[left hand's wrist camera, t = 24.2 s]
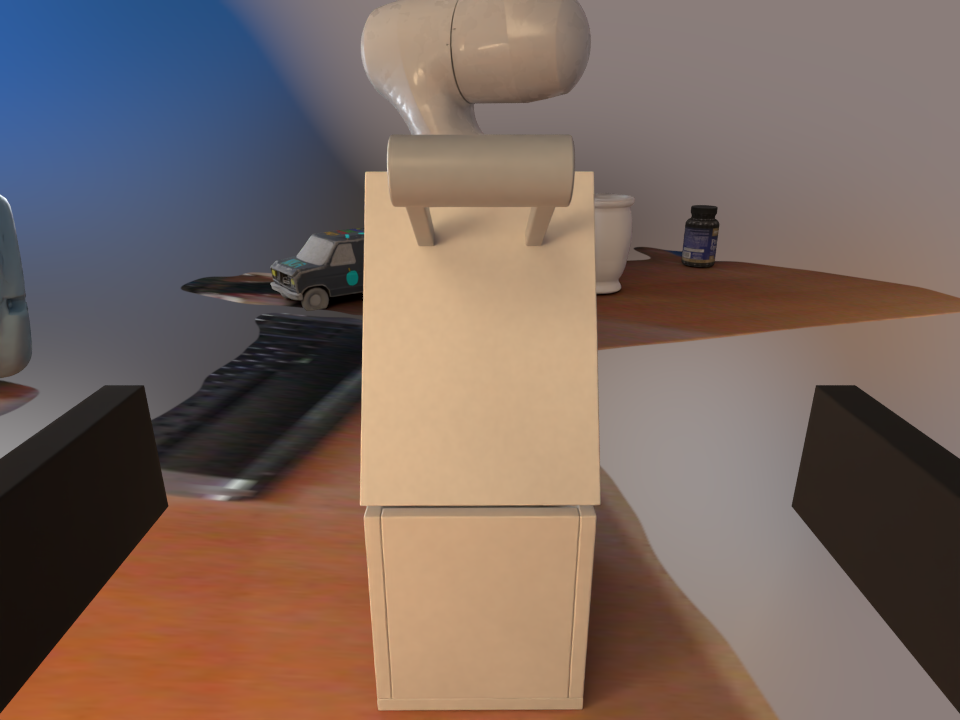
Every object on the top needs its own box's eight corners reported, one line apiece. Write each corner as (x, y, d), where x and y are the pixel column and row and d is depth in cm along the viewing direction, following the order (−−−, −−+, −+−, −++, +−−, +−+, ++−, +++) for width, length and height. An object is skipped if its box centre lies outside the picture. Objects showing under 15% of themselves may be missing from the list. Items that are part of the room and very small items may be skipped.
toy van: (270, 298, 99) (262, 234, 96) (407, 277, 113) (404, 220, 110) (296, 314, 91) (288, 245, 88) (440, 289, 105) (438, 228, 102)
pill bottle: (715, 268, 120) (723, 209, 116) (681, 266, 121) (688, 207, 118) (712, 262, 126) (720, 205, 122) (680, 260, 127) (686, 204, 123)
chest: (406, 537, 43) (399, 389, 39) (551, 537, 43) (558, 389, 39) (377, 710, 30) (363, 517, 26) (582, 709, 30) (597, 516, 26)
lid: (369, 181, 28) (316, 61, 19) (589, 181, 28) (644, 61, 19) (364, 502, 27) (304, 545, 17) (595, 502, 27) (659, 543, 17)
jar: (570, 297, 100) (575, 200, 95) (556, 282, 110) (560, 192, 105) (636, 295, 101) (644, 199, 96) (616, 280, 111) (623, 192, 106)
